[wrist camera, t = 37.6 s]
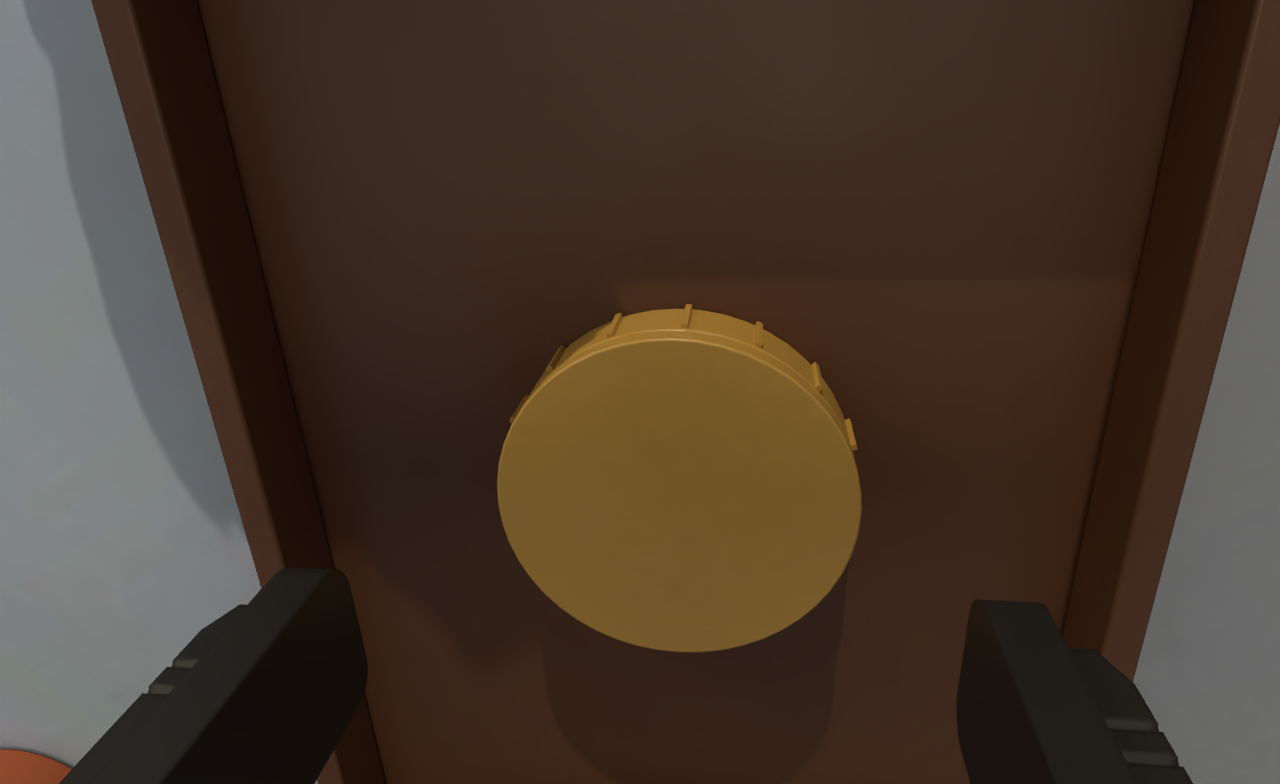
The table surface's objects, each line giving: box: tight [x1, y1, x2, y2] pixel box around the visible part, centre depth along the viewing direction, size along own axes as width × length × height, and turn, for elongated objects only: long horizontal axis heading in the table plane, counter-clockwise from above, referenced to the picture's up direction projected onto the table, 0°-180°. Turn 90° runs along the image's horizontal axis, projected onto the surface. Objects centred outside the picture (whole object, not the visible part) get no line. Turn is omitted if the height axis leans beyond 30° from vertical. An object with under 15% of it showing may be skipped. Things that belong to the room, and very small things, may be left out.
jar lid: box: [497, 304, 862, 652], centre depth 14 cm, size 6×6×2 cm
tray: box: [91, 0, 1280, 784], centre depth 14 cm, size 19×15×2 cm
